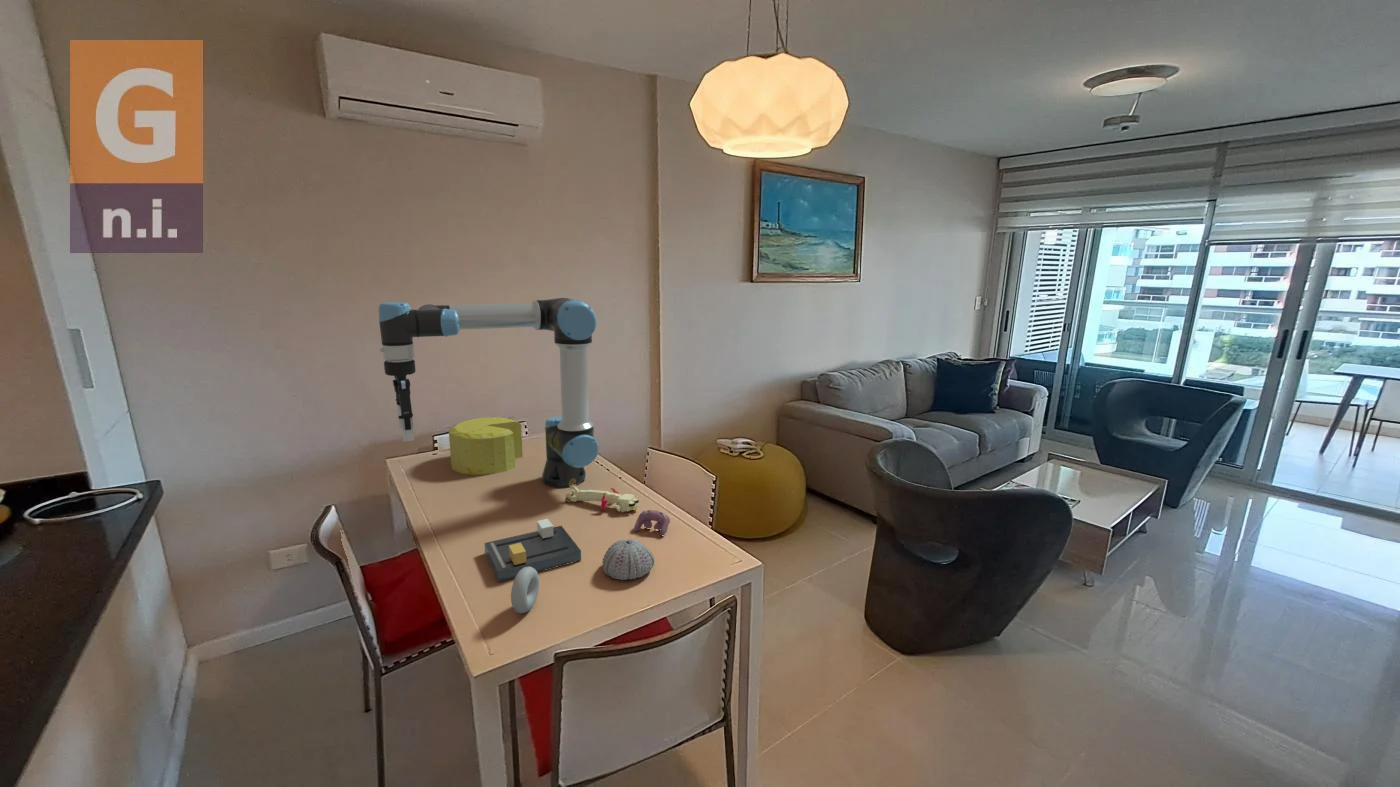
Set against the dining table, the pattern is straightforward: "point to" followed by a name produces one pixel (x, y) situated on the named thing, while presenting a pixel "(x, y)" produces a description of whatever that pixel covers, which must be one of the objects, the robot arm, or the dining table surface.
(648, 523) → the purple arched piece
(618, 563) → the sea urchin shell
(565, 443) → the robot arm
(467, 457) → the cheese
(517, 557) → the amber block
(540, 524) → the block
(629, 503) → the cream elongated figure
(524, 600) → the donut
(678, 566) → the dining table surface
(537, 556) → the fader console
